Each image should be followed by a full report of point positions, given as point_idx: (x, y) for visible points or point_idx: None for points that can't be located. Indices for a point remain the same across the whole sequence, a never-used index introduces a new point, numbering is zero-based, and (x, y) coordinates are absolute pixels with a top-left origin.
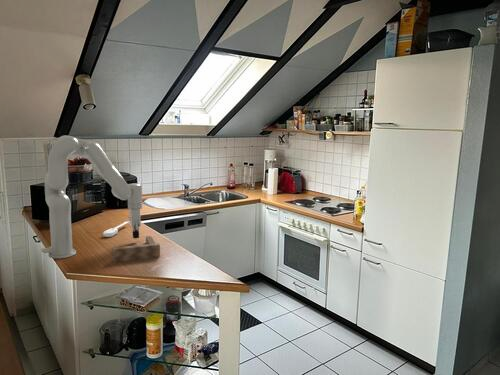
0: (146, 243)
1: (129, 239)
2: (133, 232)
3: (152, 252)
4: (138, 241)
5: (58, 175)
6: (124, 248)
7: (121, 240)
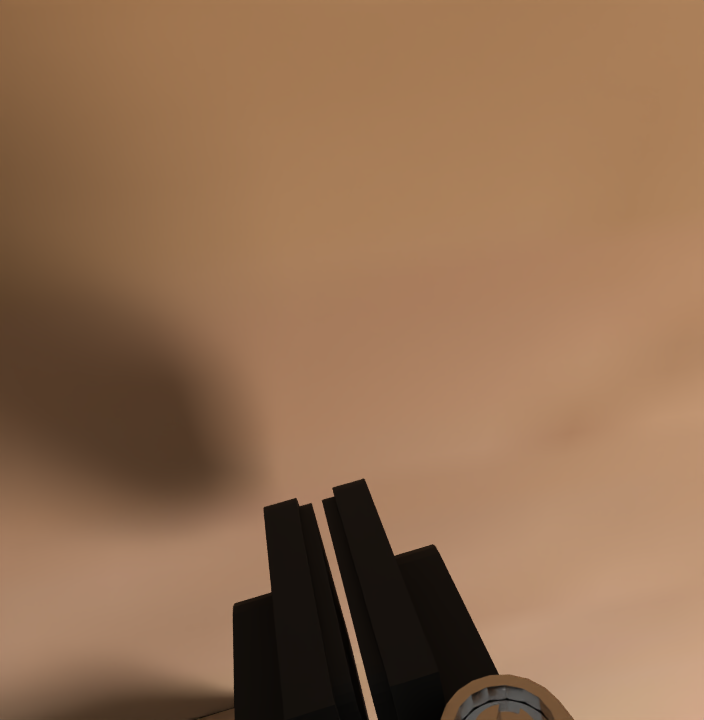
0: None
1: (601, 270)
2: (283, 694)
3: None
4: None
5: None
6: None
7: (561, 22)
